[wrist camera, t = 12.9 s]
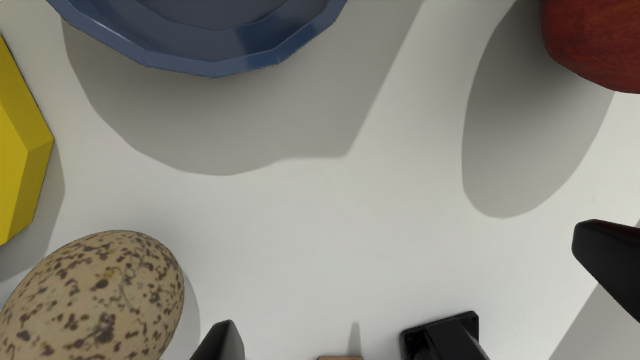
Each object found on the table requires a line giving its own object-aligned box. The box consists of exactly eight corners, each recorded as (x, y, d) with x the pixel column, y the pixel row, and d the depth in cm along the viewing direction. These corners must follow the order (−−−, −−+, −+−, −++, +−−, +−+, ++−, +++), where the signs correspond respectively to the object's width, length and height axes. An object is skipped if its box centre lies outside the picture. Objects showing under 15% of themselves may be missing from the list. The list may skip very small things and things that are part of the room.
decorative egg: (189, 200, 19) (112, 345, 9) (205, 294, 21) (158, 476, 12) (56, 209, 18) (-172, 379, 9) (91, 306, 20) (-53, 513, 11)
